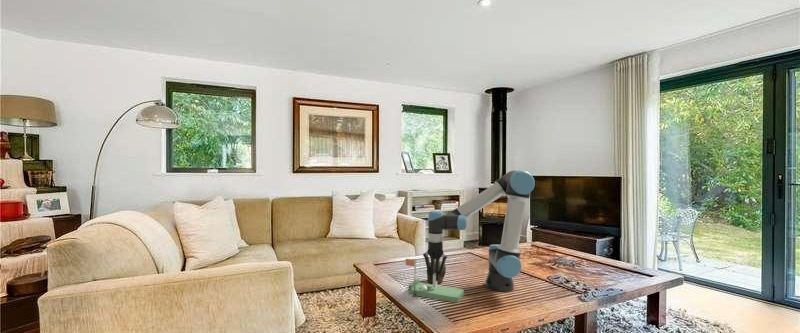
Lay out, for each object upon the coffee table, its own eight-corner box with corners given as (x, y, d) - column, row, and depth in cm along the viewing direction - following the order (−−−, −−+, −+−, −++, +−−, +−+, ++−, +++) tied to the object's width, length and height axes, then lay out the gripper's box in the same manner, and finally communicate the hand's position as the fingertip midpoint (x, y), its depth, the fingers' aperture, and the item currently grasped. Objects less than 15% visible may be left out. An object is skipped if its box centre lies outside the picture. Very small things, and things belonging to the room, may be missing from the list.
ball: (425, 283, 175) (420, 286, 176) (422, 285, 172) (418, 289, 173) (429, 288, 174) (424, 292, 175) (427, 291, 171) (422, 294, 172)
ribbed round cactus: (445, 286, 183) (445, 264, 183) (425, 284, 186) (425, 263, 186) (446, 279, 194) (446, 259, 194) (427, 278, 196) (427, 258, 196)
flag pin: (417, 295, 168) (418, 259, 169) (416, 297, 166) (416, 260, 166) (406, 293, 171) (406, 257, 171) (404, 295, 169) (404, 259, 169)
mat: (464, 294, 171) (464, 285, 171) (458, 302, 160) (458, 293, 160) (417, 286, 182) (417, 278, 182) (408, 294, 171) (408, 285, 171)
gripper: (449, 240, 172) (449, 286, 172) (426, 238, 178) (425, 282, 177) (445, 243, 165) (445, 291, 165) (421, 241, 171) (420, 287, 170)
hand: (434, 286), depth 171 cm, fingers closed
